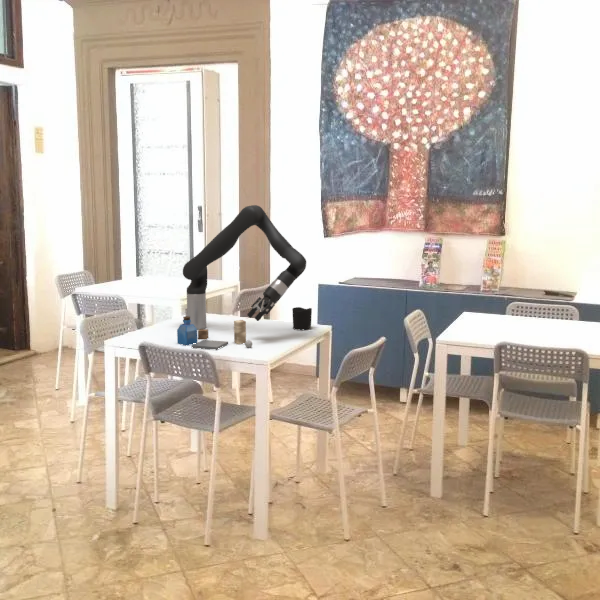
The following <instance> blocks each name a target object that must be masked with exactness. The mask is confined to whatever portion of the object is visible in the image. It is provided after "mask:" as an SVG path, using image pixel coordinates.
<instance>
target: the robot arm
mask: <svg viewBox="0 0 600 600" xmlns="http://www.w3.org/2000/svg"><path fill="white" fill-rule="evenodd" d="M253 226H256V227H257V228H258V229H260V231H262V232H263V233H264V235H265V237H266V238H267V240H268V242H269V245H270V246H271V248H273V250H274V251H275V252H276V253H277V254H278V255H279V256H280V257H281V258H282V259H285V260H286V262H288V263H289V265H288V267H286V269H284V270H283V271H282V272H280V273H279V275H277V276H276V278H275V279H273V281H272V282H271V283H270V284H269V285H268V286H267V288H266V289H265V290H264V291H263V294H262V295H263V297H262V298H261V297H260V296H259V297H258V298H257V299H256V300H255V301H254V302H253V304H251V306H250V307H251V309H250V311H249V312H248V313H247V315H246V316H247V317H248V318H250V319H251V318H253V316H254V315H255V314H256V312H258V311H259V312H258V313H257V314H256V315H255V317H254V319H255V321H256V322H257V321H258V322H259V321H260V320H261V319H262V317H263V316H265V315H267V316H268V314H269V313H271V311H272V310H273V308H274V307H275V305H276V304H277V303H278V302H279V301H280V300H281V298H282V297H283V296H284V295H285V293H286V292H287V290H288V289H289V288H290V287H291V285H292V284H293V283H294V282H295V281H296V280H297V279H298V278H299V277H300V276H301V275H302V274H303V273H304V271H306V268H307V260H306V258H305V256H304V255H303V254H302V253H301V252H299V251H298V250H297V249H296V248H294V247H293V246H292V245H291V243H290V242H289V241H288V240H287V239H286V238H285V237H284V235H282V234H281V232H280V231H279V230H278V228H276V226H275V225H274V223H273V222H272V221H271V219H270V218H269V216H268V215H267V213H266V212H265V211H264V209H263V207H261V206H260V205H257V204H253V205H252V204H251V205H247V206H244V207H243V208H242V209H241V210H240V211H239V212H238V214H237V215H236V216H235V217H234V219H233V220H232V221H231V222H230V223H229V224H228V225H226V226H225V227H224V228H223V229H222V230H221V231H220V232H219V233H217V234H216V235H215V237H213V239H211V240H210V242H208V243H207V244H206V246H205V247H204V248H203V249H202V250H200V252H198V253H197V255H195V256H193V257H192V258H191V259H190V260H188V261H187V262H186V263H185V264H184V265H183V268H182V274H183V277H184V278H185V279H187V280H189V281H190V284H189V285H188V286H187V287H186V308H185V316H189V317H190V319H191V322H190V324H194V326H195V327H196V329H197V330H199V329H206V328H207V301H206V300H207V293H206V292H207V288H208V287H207V286H208V267H207V266H209V265H210V264H211V263H215V262H216V261H217V260H219V259H220V258H222V257H223V256H225V255H226V254H227V253H228V252H230V251H231V250H232V248H233V247H234V246H235V245H236V244H237V242H238V240H239V238H240V236H241V235H242V234H243V233H245V232H246V231H247V230H249V228H251V227H253Z"/></svg>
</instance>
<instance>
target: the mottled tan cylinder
mask: <svg viewBox="0 0 600 600" xmlns="http://www.w3.org/2000/svg"><path fill="white" fill-rule="evenodd" d="M233 332H234V333H233V334H234V335H233V337H234V339H233V342H235V343H234V344H236V343H237V344H236V345H244V344H243V343H245V342H246V341H247V321H245V320H243V319H239V320H233Z"/></svg>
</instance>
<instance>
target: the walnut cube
mask: <svg viewBox="0 0 600 600" xmlns="http://www.w3.org/2000/svg"><path fill="white" fill-rule="evenodd" d="M207 338H208V339H209V329H206V328H203V329H197V340H208V339H207Z"/></svg>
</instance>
